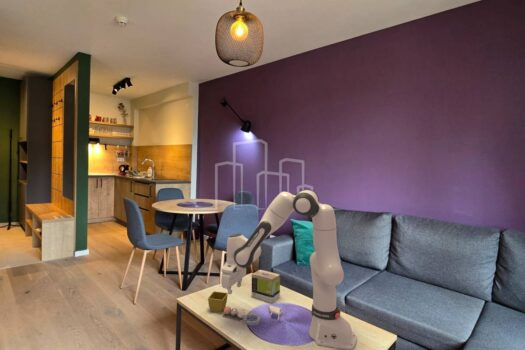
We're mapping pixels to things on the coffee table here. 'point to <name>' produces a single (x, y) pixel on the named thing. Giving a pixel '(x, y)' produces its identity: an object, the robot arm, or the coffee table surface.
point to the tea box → (266, 286)
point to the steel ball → (234, 312)
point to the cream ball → (241, 314)
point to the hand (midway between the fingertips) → (234, 290)
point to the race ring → (252, 321)
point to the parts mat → (232, 317)
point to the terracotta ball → (227, 310)
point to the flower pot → (217, 301)
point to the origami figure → (275, 311)
